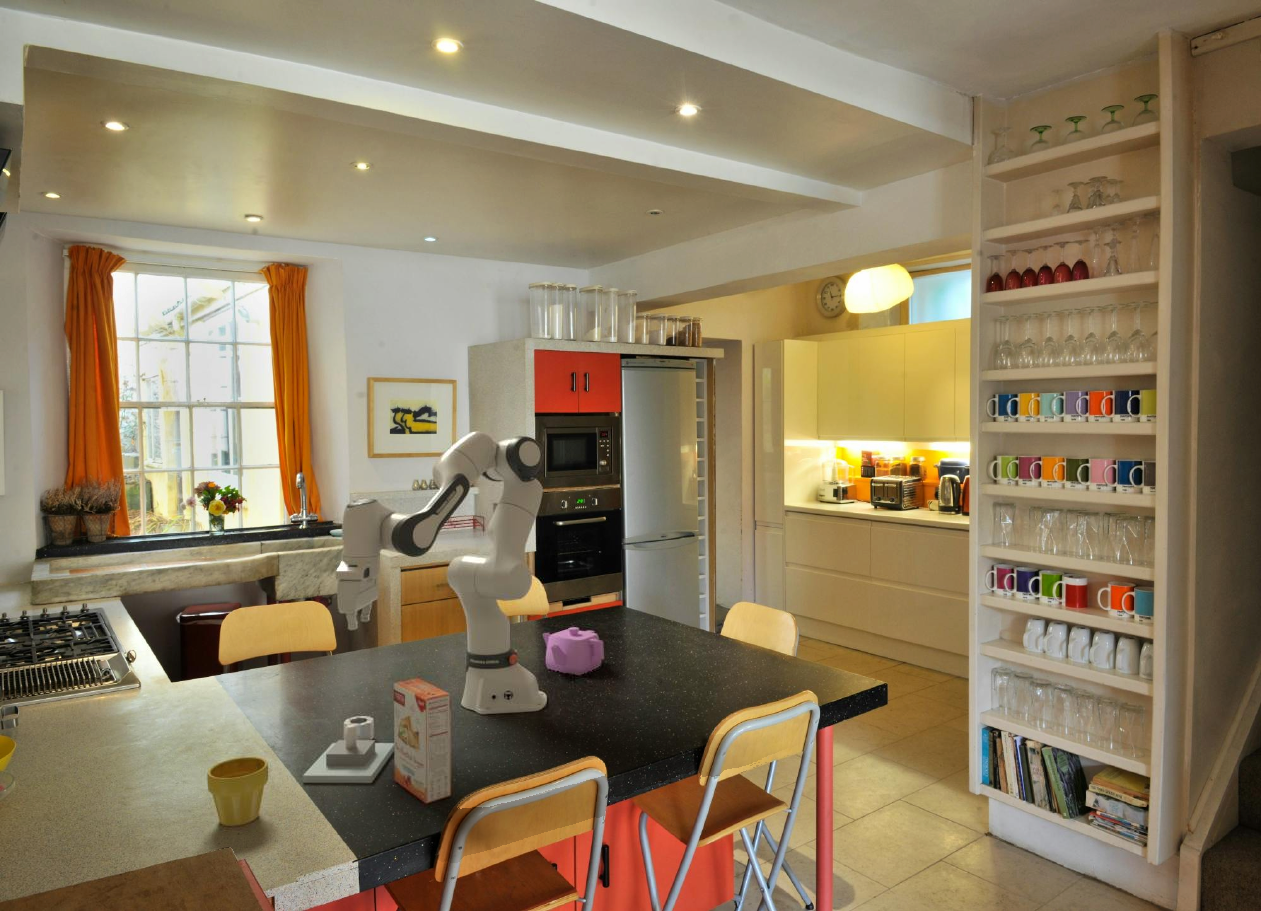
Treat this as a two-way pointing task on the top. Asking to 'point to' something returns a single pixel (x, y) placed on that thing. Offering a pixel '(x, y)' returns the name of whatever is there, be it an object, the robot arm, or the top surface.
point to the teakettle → (573, 651)
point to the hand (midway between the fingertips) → (359, 625)
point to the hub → (361, 727)
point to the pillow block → (350, 761)
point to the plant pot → (238, 789)
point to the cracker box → (422, 739)
